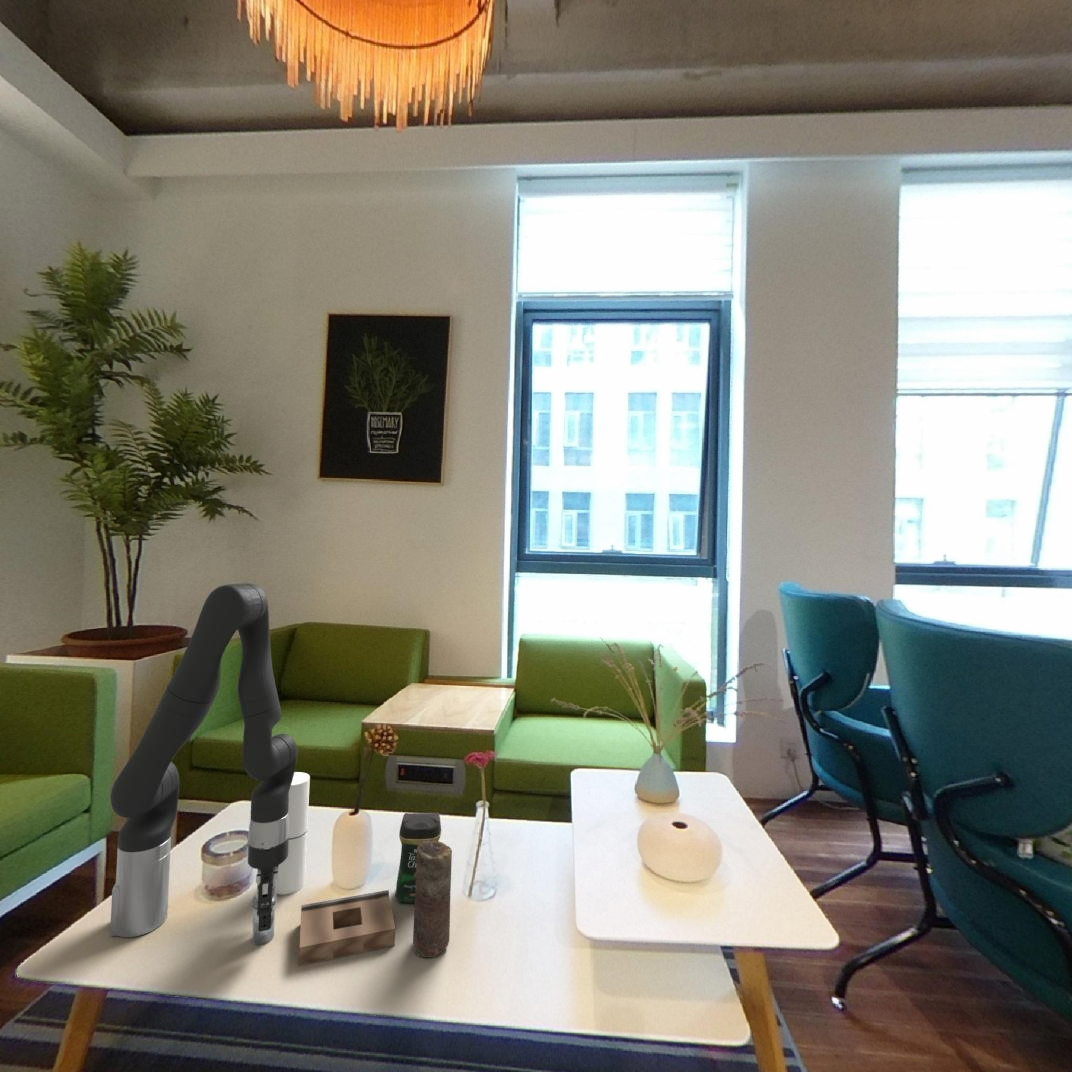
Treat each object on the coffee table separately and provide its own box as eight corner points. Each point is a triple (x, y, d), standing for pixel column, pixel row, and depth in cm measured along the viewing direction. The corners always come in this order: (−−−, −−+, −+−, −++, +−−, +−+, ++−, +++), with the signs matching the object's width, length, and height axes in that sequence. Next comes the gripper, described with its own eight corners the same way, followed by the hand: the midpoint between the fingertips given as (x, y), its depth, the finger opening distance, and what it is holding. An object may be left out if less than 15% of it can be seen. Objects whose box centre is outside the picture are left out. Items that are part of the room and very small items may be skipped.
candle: (409, 936, 119) (414, 840, 119) (444, 929, 121) (449, 835, 121) (415, 962, 112) (420, 860, 111) (452, 954, 114) (457, 855, 114)
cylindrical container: (281, 898, 128) (287, 788, 128) (265, 885, 133) (270, 778, 133) (310, 884, 134) (315, 778, 134) (294, 872, 138) (299, 769, 138)
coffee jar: (394, 906, 128) (398, 824, 127) (397, 884, 135) (401, 807, 135) (438, 904, 129) (442, 822, 129) (438, 883, 137) (442, 806, 137)
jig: (298, 965, 109) (299, 944, 109) (300, 924, 120) (301, 905, 120) (394, 945, 116) (395, 925, 116) (387, 908, 127) (388, 889, 127)
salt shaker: (249, 948, 113) (251, 908, 113) (251, 932, 117) (253, 894, 117) (274, 943, 115) (276, 903, 115) (276, 928, 119) (278, 890, 119)
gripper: (251, 822, 121) (249, 898, 121) (244, 858, 108) (241, 943, 108) (290, 817, 124) (287, 891, 124) (287, 852, 111) (284, 935, 111)
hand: (266, 915), depth 116 cm, fingers open, 8 cm apart
